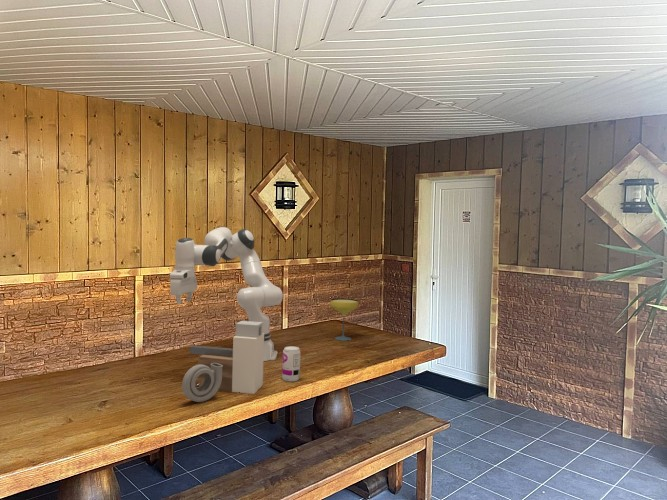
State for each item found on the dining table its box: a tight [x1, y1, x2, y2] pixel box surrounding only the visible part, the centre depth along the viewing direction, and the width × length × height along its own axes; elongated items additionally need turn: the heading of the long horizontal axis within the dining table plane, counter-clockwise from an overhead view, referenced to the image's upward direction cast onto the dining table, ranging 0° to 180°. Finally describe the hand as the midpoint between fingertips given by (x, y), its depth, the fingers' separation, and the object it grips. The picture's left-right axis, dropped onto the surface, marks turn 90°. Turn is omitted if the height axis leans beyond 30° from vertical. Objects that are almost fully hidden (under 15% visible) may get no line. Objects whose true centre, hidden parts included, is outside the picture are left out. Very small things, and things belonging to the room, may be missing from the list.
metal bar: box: [189, 344, 233, 357], centre depth 227 cm, size 3×20×3 cm, turn 80°
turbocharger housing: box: [181, 363, 223, 403], centre depth 208 cm, size 17×6×15 cm, turn 137°
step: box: [198, 354, 233, 393], centre depth 227 cm, size 12×16×14 cm
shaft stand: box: [232, 320, 264, 395], centre depth 224 cm, size 12×10×29 cm
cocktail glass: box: [329, 297, 359, 342], centre depth 326 cm, size 18×18×25 cm
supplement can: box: [281, 345, 301, 383], centre depth 239 cm, size 8×8×15 cm
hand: (184, 302), depth 237 cm, fingers open, 8 cm apart
